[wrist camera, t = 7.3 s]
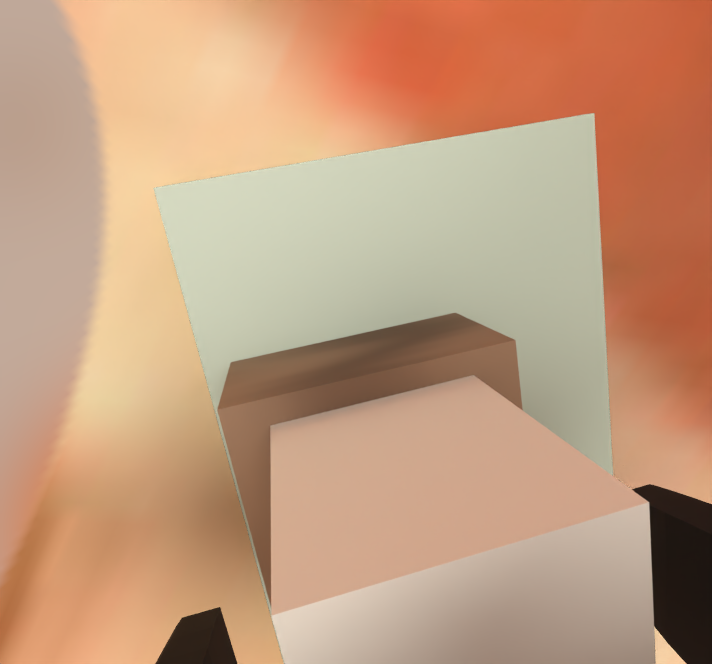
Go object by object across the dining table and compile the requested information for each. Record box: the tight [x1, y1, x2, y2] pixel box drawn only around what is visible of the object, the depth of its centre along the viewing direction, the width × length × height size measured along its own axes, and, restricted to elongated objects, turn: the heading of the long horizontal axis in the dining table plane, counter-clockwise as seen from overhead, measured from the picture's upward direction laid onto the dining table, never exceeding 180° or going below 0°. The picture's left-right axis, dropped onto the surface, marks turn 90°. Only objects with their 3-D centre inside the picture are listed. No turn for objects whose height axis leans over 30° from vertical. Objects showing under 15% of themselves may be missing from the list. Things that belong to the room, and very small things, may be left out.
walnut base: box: [217, 313, 523, 606], centre depth 12 cm, size 6×6×4 cm
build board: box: [154, 113, 613, 664], centre depth 15 cm, size 12×16×1 cm
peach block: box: [270, 375, 656, 664], centre depth 8 cm, size 4×4×5 cm
